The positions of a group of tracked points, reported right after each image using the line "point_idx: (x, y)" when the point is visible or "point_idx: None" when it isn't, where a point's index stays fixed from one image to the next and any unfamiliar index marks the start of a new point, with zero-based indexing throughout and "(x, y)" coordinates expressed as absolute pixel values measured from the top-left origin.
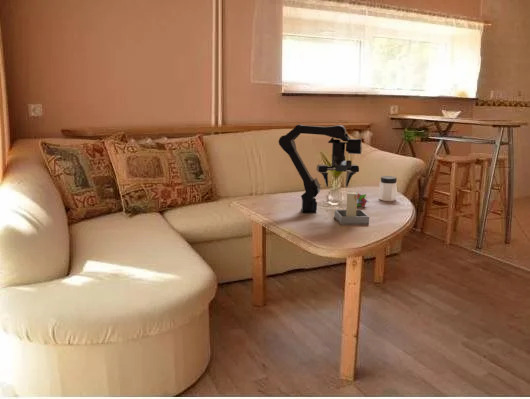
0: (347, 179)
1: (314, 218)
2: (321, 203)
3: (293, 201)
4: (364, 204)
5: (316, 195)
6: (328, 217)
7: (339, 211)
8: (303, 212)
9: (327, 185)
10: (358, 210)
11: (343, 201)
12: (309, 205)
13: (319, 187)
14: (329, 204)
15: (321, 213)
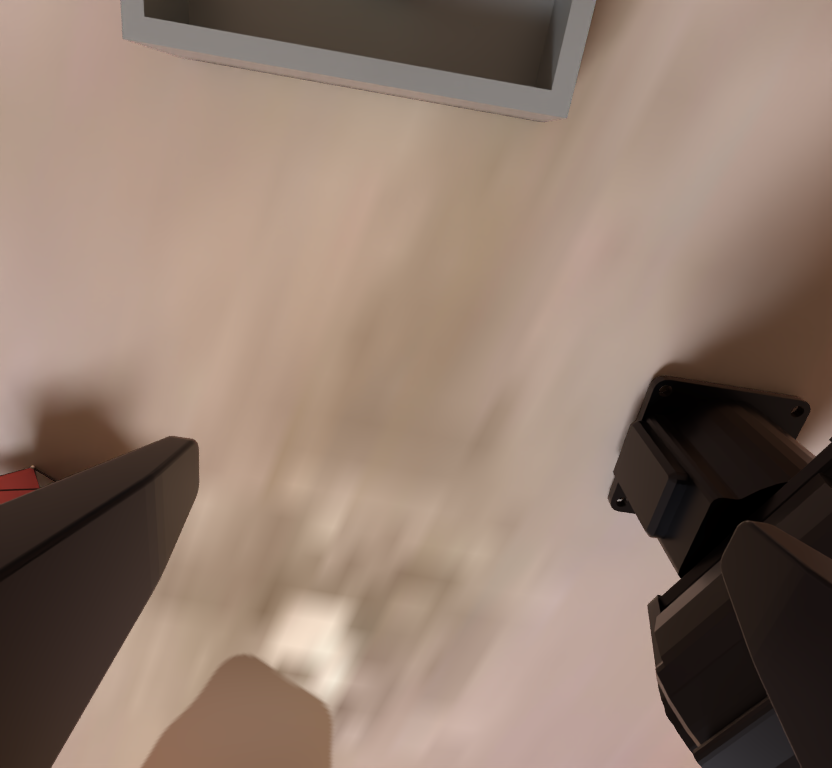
0: (31, 598)
1: (827, 130)
2: (421, 666)
3: (636, 755)
4: (6, 484)
5: (818, 474)
6: (619, 139)
7: (495, 84)
8: (803, 400)
9: (783, 539)
10: (175, 24)
11: (191, 684)
12: (781, 437)
13: (732, 679)
14: (360, 627)
15: (605, 342)
